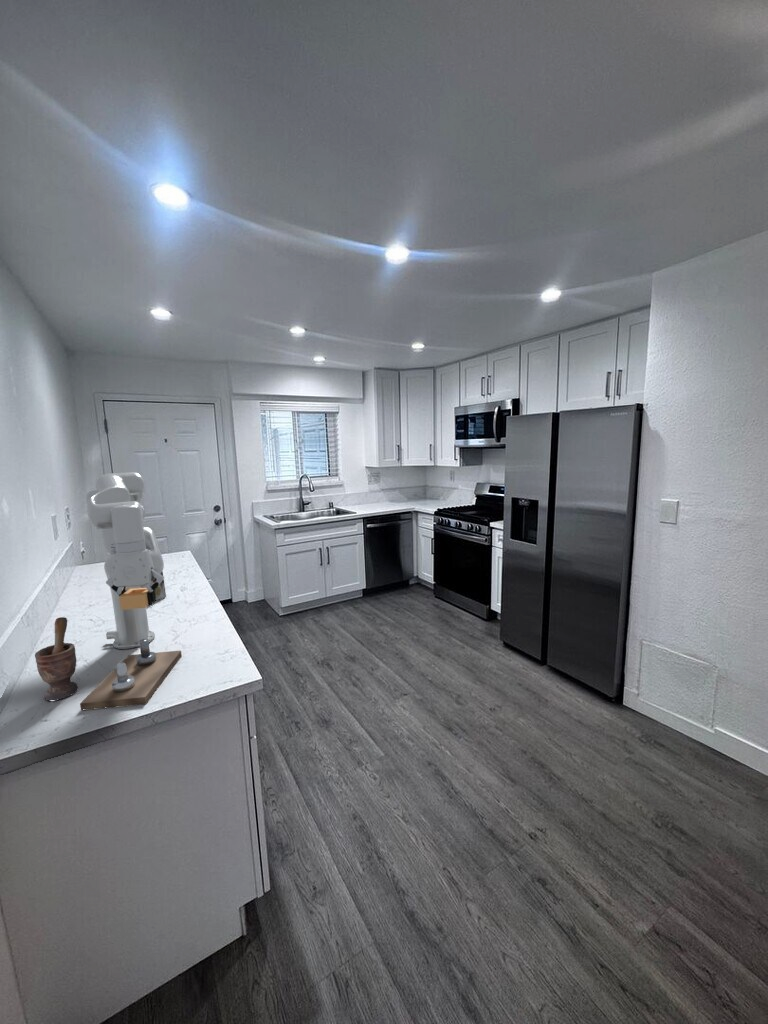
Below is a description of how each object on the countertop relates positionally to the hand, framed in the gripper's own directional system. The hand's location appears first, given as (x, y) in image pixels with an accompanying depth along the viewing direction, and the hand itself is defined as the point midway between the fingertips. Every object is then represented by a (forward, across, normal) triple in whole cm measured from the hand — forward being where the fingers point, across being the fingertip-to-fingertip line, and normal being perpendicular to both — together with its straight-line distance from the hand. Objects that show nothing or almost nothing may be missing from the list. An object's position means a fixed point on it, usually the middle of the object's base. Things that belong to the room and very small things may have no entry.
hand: (138, 604), depth 127 cm
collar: (0, 0, 0) cm, 0 cm away
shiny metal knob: (+19, 0, 0) cm, 19 cm away
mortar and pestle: (+21, -19, -9) cm, 29 cm away
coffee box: (+21, -25, +66) cm, 73 cm away
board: (+21, 0, -7) cm, 22 cm away
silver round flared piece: (+18, 0, -14) cm, 23 cm away
